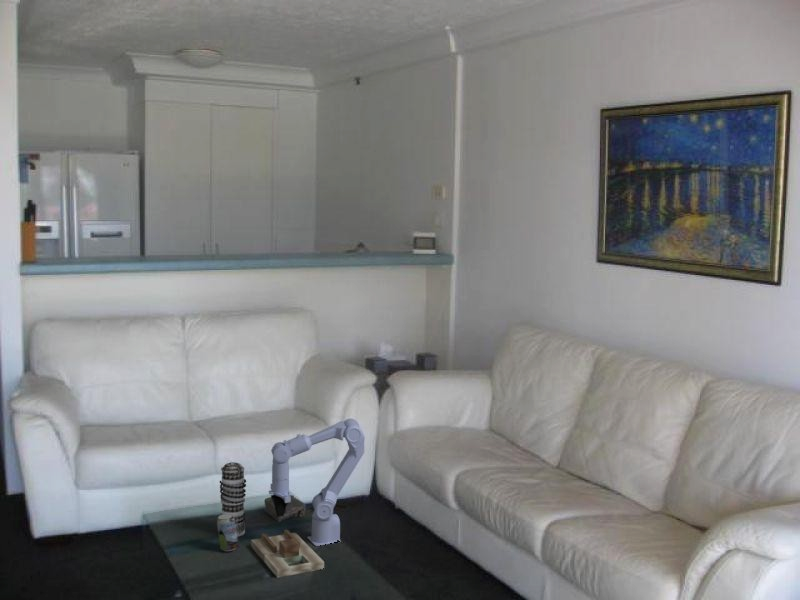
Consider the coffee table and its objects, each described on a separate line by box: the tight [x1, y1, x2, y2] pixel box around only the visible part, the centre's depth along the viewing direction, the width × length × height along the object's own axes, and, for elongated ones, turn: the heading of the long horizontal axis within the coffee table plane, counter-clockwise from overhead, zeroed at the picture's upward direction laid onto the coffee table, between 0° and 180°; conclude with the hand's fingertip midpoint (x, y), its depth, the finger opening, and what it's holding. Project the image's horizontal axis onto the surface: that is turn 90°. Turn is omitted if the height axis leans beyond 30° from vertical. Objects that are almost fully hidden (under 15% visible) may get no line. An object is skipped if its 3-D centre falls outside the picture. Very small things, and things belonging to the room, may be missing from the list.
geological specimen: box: [264, 494, 306, 523], centre depth 360 cm, size 11×6×15 cm
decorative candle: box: [219, 461, 247, 538], centre depth 339 cm, size 9×9×25 cm
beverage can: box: [216, 514, 239, 552], centre depth 326 cm, size 6×7×12 cm
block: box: [279, 539, 299, 558], centre depth 319 cm, size 5×5×4 cm
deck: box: [250, 529, 325, 579], centre depth 322 cm, size 16×26×4 cm, turn 27°
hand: (280, 515), depth 332 cm, fingers closed
